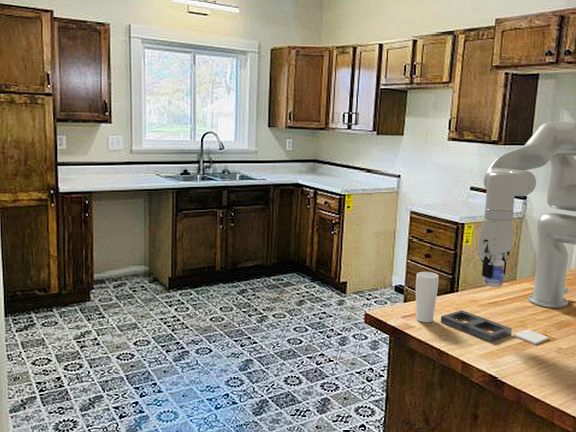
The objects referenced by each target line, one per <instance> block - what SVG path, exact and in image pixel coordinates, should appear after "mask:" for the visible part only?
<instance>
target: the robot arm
mask: <svg viewBox="0 0 576 432" xmlns="http://www.w3.org/2000/svg"><path fill="white" fill-rule="evenodd" d="M575 157H576V121H546V122H544V123H543V124H541V125H540V126H539V127H538V128H537V129H536V130H535V132H534V133H533V134H532V136H530V138H529V139H528V140H527V142H525V144H524V145H523V146H519V147H518V148H515V149H513V150H510V151H508V152H506V153H504V154H502V155H500V156H499V157H497V158H496V159H495V160H494V161H493V162H492V164H491V165H490V166H489V168H488V169H487V170H486V171H485V174H484V177H483V186H484V187H485V189H486V192H485V193H486V195H485V197H486V198H485V209H484V219H483V220H482V223H481V227H480V232H479V240H478V245H477V246H478V247H477V251H478V252H477V255H478V257H479V259H480V260H481V264H482V270H481V276H482V277H483V278H484V277H487V278H490V279H491V278H492V277H493V266H494V265H492V263H493V259H494V256H495V255H498V254H503V255H502V259H501V260H503V261H504V276H505V275H506V270H507V262H508V260H509V258H508V257H509V256H510V253H511V252H512V250H513V230H514V229H513V217H514V207H515V197H524V196H528V195H530V194H532V193H533V192H534V190H535V189H536V186H537V178H536V176H535V175H534V174H533V172H531V171H529V170H533V169H540V168H541V167H544V166H545V165H547V164H548V163H549V161H550V166H551V171H550V176H549V177H550V178H549V184H548V189H547V196H546V197H547V198H546V200H547V201H546V203H547V205H548V206H549V207H550V208H552V209H555V210H560V211H567V212H574V213H575V212H576V158H575ZM537 237H538V238H537V239H538V245H537V246H538V249H537V257H536V265H535V268H536V269H535V277H534V287H533V293H531V294H529V295H528V298H527V300H528V301H529V302H530V303H532V304H534V305H537V306H541V307H545V308H550V309H551V308H553V309H559V308H560V309H561V308H566V307H567V306H568V304H569V301H568V300H567V299H566V298H565V294H568V293H569V288H567V287H566V280H567V278H566V277H567V270H568V261H569V253H568V250H567V247H566V246H565V244H570V245H573V246H574V245H575V246H576V215H570V214H566V213H565V214H564V213H558V212H547V213H544V214H542V215H541V216H540V217H539V219H538V221H537ZM488 252H490V254H489V253H488ZM488 256H490V259H488V258H489V257H488Z"/></svg>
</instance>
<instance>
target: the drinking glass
mask: <svg viewBox="0 0 576 432" xmlns="http://www.w3.org/2000/svg"><path fill="white" fill-rule="evenodd" d="M438 288H439V274H437V273H435V272H430V271H420V272H419V271H418V272H416V278H415V309H416V310H415V311H416V315H415V318H416V320H417V321H418V322H420V323H431V322H433V321H434V316H435V314H434V313H435V310H436V309H435V307H436V303H437V296H438V290H439V289H438Z"/></svg>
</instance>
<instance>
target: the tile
mask: <svg viewBox="0 0 576 432" xmlns="http://www.w3.org/2000/svg"><path fill="white" fill-rule="evenodd" d="M512 337H514V338H516V337H517V338H516V339H519V340H522V341H524V342H527V343H530V344H533V345H535V346H536V345H538V344H540V343H543V342H546V341H548V340H549V339H550V337H549V336H547V335H543V334H541V333H539V332H535V331H533V330H531V329H524V330H522V331H519V332H515V333H513V335H512Z"/></svg>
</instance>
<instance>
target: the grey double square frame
mask: <svg viewBox="0 0 576 432" xmlns="http://www.w3.org/2000/svg"><path fill="white" fill-rule="evenodd" d="M456 319H457V320H456ZM460 319H462V320H464V319H465V321H467V322H463V321H460ZM440 323H441V324H444V325H447V326H449V327H450V328H454V329H456V330H459V331H461V332H463V333H467V334H469V335H472V336H474V337H476V338H479V339H482V340H483V341H486V342H489V343H493V342H495V341H498V340H501V339H503V338H507V337H509V336H511V335H512V331H513V329H512V327H509V326H506V325H504V324H501V323H498V322H496V321H492V320H490V319H487V318H484V317H481V316H479V315H476V314H473V313H470V312H468V311H466V310H462V309H460V310H458V311H454V312H451V313H448V314H444V315H441V317H440ZM484 327H486V329H488V328H489V329H488V330H490V329H491V331H493V330H494V331H493V332H489V331H487V330H484Z"/></svg>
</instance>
